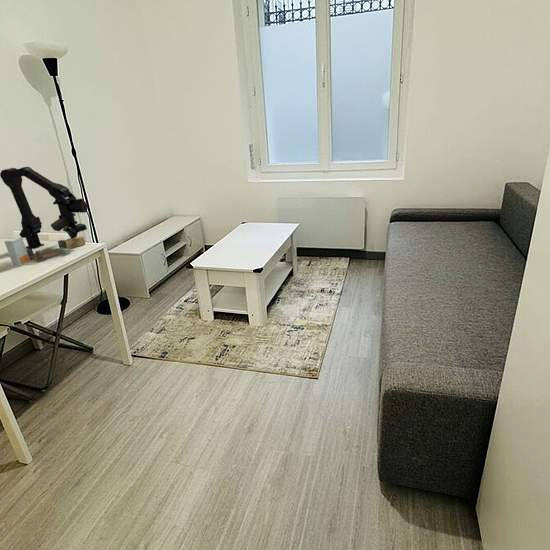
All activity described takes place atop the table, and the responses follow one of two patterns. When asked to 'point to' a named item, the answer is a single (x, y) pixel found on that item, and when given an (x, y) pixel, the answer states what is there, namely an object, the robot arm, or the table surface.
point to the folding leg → (72, 242)
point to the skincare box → (17, 251)
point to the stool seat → (43, 254)
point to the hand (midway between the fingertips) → (74, 241)
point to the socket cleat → (64, 251)
